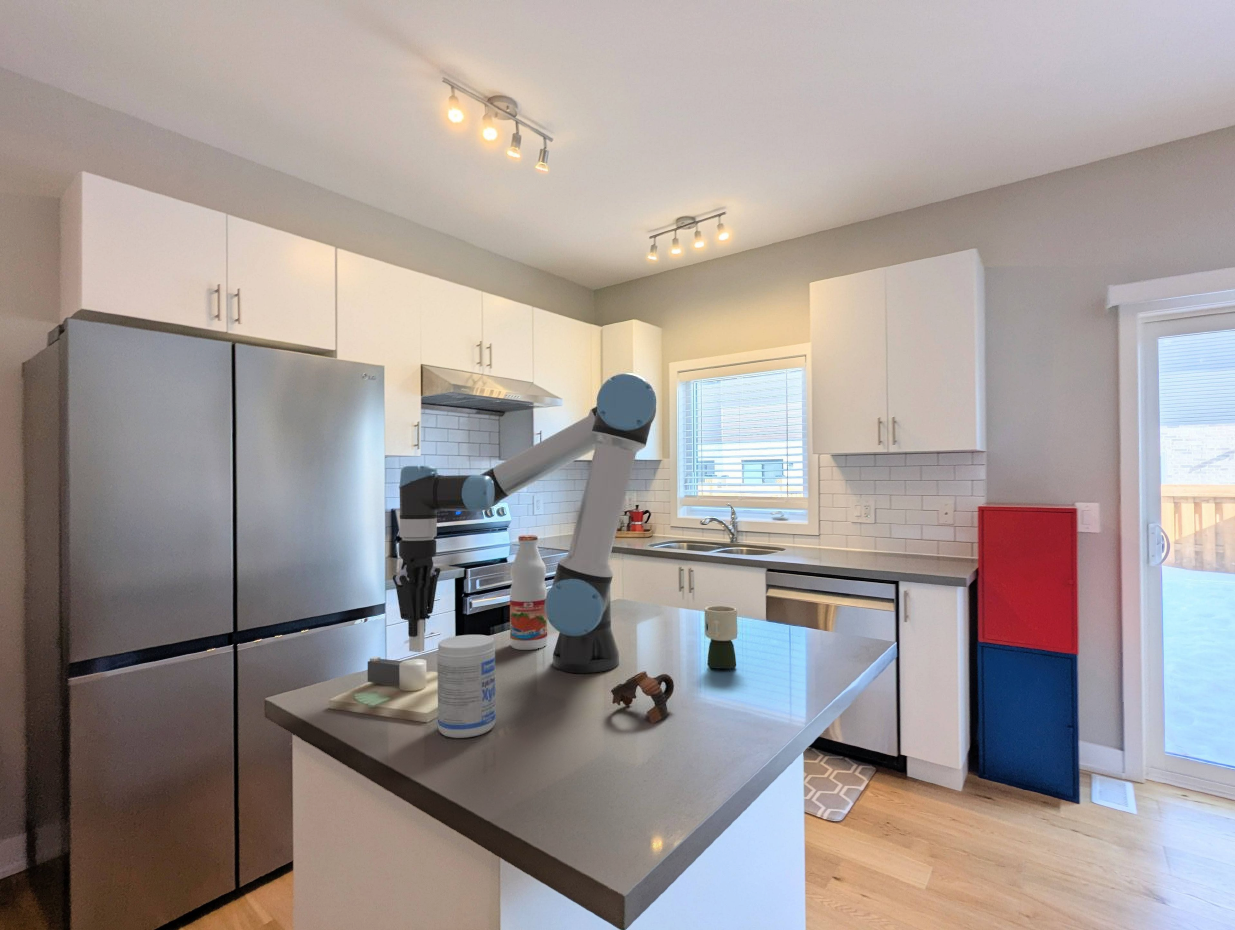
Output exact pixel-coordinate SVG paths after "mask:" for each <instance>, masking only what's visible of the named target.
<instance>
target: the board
mask: <svg viewBox="0 0 1235 930" xmlns="http://www.w3.org/2000/svg"><path fill="white" fill-rule="evenodd" d="M372 691H377V693H378V694H379V695H381V696H384V697H388V698H391V700H389V701H386V702H384V703H382V704H379V705H377V706H375V707H371V706H367V705H363V704H361V703H359V702H357V701H356V700H355V698H354V694H358V693H365V692H372ZM328 709H332V710H339V711H346V712H353V713H359V714H367V715H373V716H374V715H375V716H379V717H380V716H381V717H387V718H394V719H399V720H400V719H402V720H408V721H415V722H423V723H429V722H431V721H432V720H434V719H436V718H438V671H431V670H430V671H429V670H426V687H424V688H422V689H419V690H415V691H403V690H400V689H399V686H396V685H388V684H380V683H372V682H368V681H367V682H366V683H363V684H361V685H359V686H356V687H355V688H352V689H350V690H348V691H345V692H342V693H341V694H338V695H337V696H333V697H332V698H330V699H329V698H328Z"/></svg>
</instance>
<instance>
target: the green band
mask: <svg viewBox="0 0 1235 930" xmlns="http://www.w3.org/2000/svg"><path fill="white" fill-rule="evenodd" d="M354 698H355V700H356V701H357V702H359V703H361V704H363V705H367V706H371V707H375V706H377V705H379V704H382V703H384V702H386V701H389V700H391V698H388V697H384V696H381V695H379V694H378V693H377V691H372V692H365V693H358V694H354Z"/></svg>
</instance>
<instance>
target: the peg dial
mask: <svg viewBox="0 0 1235 930" xmlns="http://www.w3.org/2000/svg"><path fill="white" fill-rule="evenodd" d="M426 671H427V660H425V659H421V658H416V659H414V658H413V659H407V660H404V661H403V660H398V659H397V660H396V659H395V660H392V659H386V658H385V659H384V658H381V657H380V656H372V657H369V660H368V661H367V683H368V682H372V683H380V684H388V685H396V686H399V689H400V690H403V691H415V690H419V689H422V688H424V687H426Z"/></svg>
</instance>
